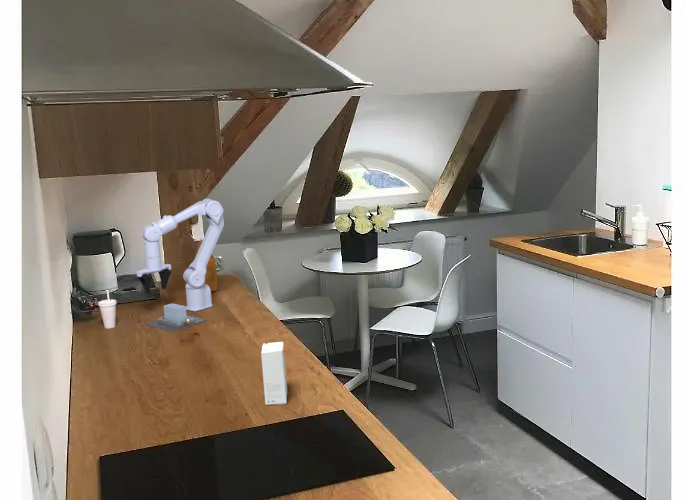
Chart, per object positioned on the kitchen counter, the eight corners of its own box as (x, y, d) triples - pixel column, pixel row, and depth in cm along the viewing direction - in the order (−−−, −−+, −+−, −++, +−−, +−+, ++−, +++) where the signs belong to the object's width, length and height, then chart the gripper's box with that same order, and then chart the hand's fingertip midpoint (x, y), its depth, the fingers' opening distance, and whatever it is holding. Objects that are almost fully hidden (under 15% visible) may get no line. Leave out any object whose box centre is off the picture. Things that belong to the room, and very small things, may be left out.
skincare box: (286, 404, 183) (284, 350, 180) (263, 405, 183) (260, 352, 180) (287, 392, 191) (284, 340, 188) (265, 393, 191) (262, 341, 188)
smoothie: (115, 329, 253) (111, 292, 250) (98, 329, 253) (94, 292, 250) (121, 324, 259) (117, 287, 256) (104, 324, 259) (100, 288, 257)
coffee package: (215, 285, 312) (211, 237, 308) (219, 292, 300) (216, 242, 296) (192, 288, 309) (189, 239, 305) (196, 294, 297) (192, 244, 293)
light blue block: (187, 322, 257) (185, 306, 256) (178, 324, 254) (177, 309, 253) (173, 318, 262) (172, 303, 261) (164, 321, 259) (163, 305, 258)
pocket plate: (179, 314, 270) (179, 307, 269) (206, 320, 260) (206, 313, 259) (145, 324, 257) (144, 317, 257) (172, 332, 247) (171, 324, 247)
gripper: (162, 252, 273) (165, 285, 276) (130, 259, 262) (133, 293, 265) (173, 254, 269) (176, 287, 272) (141, 261, 258) (144, 296, 261)
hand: (156, 291), depth 268 cm, fingers open, 7 cm apart
